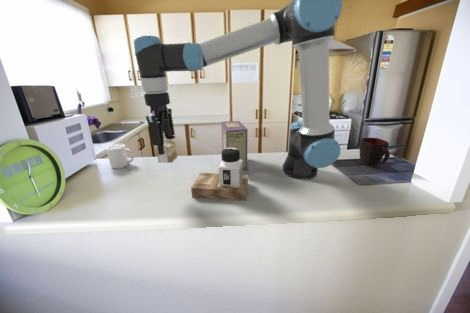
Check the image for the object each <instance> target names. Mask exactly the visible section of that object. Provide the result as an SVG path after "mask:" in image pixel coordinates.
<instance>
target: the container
mask: <svg viewBox="0 0 470 313" xmlns="http://www.w3.org/2000/svg"><path fill="white" fill-rule="evenodd" d="M217 168H218V174H219V185H222V186H234V187H240V184H241V181H242V177H243V175H244V174H243V172H244V171H243V160H240V151H239V150H238V149H236V148H226V149H224V150H223V149H222V150H221V162H220V164H219V165H218V167H217Z"/></svg>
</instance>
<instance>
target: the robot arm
mask: <svg viewBox="0 0 470 313" xmlns="http://www.w3.org/2000/svg"><path fill="white" fill-rule="evenodd" d="M342 11H343V0H292V1H291V2H290V3H288V4H287V5H286V6H285V7H283V8H282V9H280V10H278V11H274V12H273V13H271V14H270V16H269V18H267V19H264V20H261V21H258V22H255V23H252V24H249V25H247V26H244V27H241V28H239V29H236V30H234V31H230V32H228V33H226V34H222V35H220V36H217V37H214V38H211V39H208V40H205V41H203V42H200V43H197V42H196V43H195V42H182V43H162V42H161V39H160V37H159V36H156V35H138V36H135V37H134V39H133V46H134V47H133V48H134V55H135V56H134V57H136V58H135V59H136V64H137V67H138V71H139V72H138V73H139V77H140V84H141V86H142V91H143V93H144V95H143V97H144V102H145V103H144V104H145V105H146V106H147V107H149V108H150V109H149V110H150V113H149V115H146V116H145V119H146V121H147V124H148V129H149V134H150V139H151V144H152V146H157V147H158V152H159V158H160V162H159V163H162V162H166V163H168V162H169V161H168V155H167V150H166V144H164V142H174V140H173V139H176V136H175V135H176V134H175V127H174V120H173V115H172V113H173V112H172V108H168V106H167V105H170V103H171V100H170V94H169V93H168V92H167V91H168V90H169V88H168V82H167V75H166V72H192V73H193V72H197V71H201V70H203V68H206V67H209V66H211V65H213V64H216V63H219V62H222V61H225V60H228V59H231V58H234V57H236V56H240V55H243V54H246V53H249V52H251V51H254V50H257V49H260V48H262V47H266V46H269V45H271V44H275V45H276V46H278V45H280V44H284V43H289V42H292V47H293V48H294V49H295V50H297V52H298V68H299V84H300V99H301V117H302V121H294V122H292V123H291V124H290V129H289V141H288V152H287V156H286V158H285V160H284V162H283V165H282V172H283V173H284V174H285V175H287V176H288V177H290V178H294V179H298V180H299V179H300V180H310V179H314V178H315V177H317V175H318V171H319V170H318V169H322V168H323V169H325V168H327V167H330V166H331V165H333V164H334V162H336V161H337V160H338V159H339V157H340V155H341V151H342V150H341V145H340V143H339V142H338V141H337V140H336V138H335V126H334V125H333V124H331V123H330V63H329V62H330V54H329V53H330V50H329V47H330V46H329V45H330V43H331V42H332V41H333V40H334V38H335V28H336V27H335V24H336V23H337V21H338V19H339V18H340V16H341V14H342ZM164 137H165V138H164ZM168 164H169V163H168Z"/></svg>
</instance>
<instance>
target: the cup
mask: <svg viewBox="0 0 470 313" xmlns="http://www.w3.org/2000/svg"><path fill="white" fill-rule="evenodd" d="M105 151H106V155H107V157H108V161H109V164H110V167H111V168H112V169H122V168H125V167H127V166H128V165H129V164H130V163H132V162H133V161H134V154H133V151H132V150H131V149H129V148H127V147H126V145H125V144H124V143H115V144H110V145H108V146H106V147H105ZM127 152H129V154H130V159H129V157H128V153H127Z"/></svg>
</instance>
